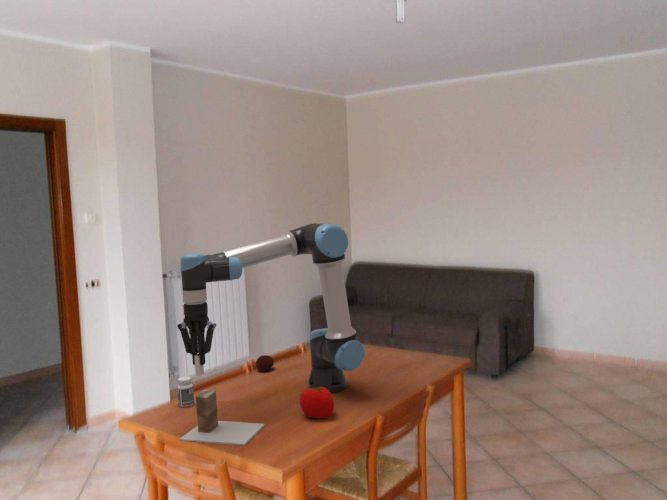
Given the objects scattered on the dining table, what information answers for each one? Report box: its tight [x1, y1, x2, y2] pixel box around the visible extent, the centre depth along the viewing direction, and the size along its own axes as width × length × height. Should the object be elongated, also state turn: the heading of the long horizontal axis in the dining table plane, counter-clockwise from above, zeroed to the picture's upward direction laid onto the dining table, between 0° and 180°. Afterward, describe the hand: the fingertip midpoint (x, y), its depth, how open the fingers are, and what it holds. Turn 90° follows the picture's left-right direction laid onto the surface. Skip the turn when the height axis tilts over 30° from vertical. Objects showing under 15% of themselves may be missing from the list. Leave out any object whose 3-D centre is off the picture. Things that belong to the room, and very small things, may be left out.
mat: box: [179, 420, 266, 447], centre depth 188 cm, size 22×16×1 cm
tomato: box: [299, 387, 335, 419], centre depth 199 cm, size 11×13×10 cm
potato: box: [255, 354, 275, 373], centre depth 256 cm, size 7×8×7 cm
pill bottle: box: [176, 376, 195, 408], centre depth 216 cm, size 6×6×10 cm
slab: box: [195, 389, 219, 433], centre depth 190 cm, size 4×6×12 cm, turn 164°
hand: (199, 374), depth 189 cm, fingers closed
